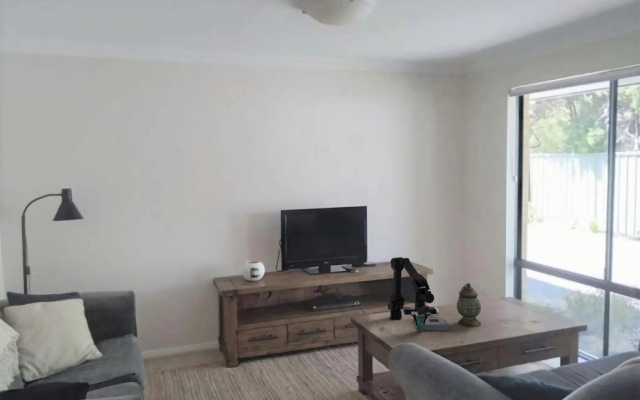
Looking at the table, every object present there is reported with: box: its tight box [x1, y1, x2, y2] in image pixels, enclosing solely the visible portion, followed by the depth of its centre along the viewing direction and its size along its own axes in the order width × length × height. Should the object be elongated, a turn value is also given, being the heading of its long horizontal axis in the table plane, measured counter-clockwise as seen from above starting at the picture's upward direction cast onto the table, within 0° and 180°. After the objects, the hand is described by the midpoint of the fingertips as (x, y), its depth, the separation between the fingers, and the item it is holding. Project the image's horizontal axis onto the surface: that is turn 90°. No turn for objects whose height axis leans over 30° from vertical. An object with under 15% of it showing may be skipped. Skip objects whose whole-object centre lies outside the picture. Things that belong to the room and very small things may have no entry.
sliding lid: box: [429, 306, 440, 317], centre depth 308 cm, size 9×9×3 cm
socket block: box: [423, 316, 449, 331], centre depth 297 cm, size 14×14×4 cm
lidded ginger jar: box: [456, 282, 482, 328], centre depth 300 cm, size 14×14×25 cm
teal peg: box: [416, 314, 425, 332], centre depth 288 cm, size 4×4×8 cm
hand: (419, 325), depth 288 cm, fingers closed on teal peg, 4 cm apart
